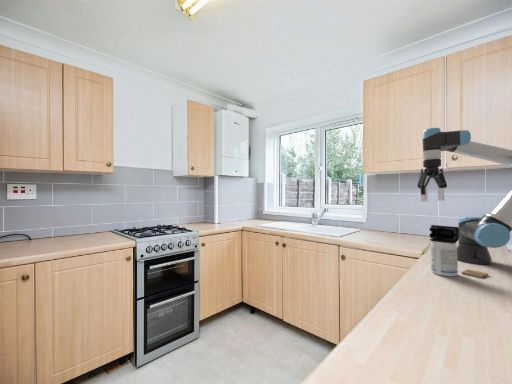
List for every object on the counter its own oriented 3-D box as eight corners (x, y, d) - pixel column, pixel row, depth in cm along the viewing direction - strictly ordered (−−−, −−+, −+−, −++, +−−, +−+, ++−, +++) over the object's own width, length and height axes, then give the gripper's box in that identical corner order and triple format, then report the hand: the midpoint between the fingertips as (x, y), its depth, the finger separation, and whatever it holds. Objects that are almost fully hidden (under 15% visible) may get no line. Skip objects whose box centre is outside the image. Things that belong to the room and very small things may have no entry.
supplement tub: (461, 274, 113) (461, 241, 113) (452, 278, 108) (452, 244, 108) (436, 269, 122) (436, 238, 121) (427, 272, 116) (427, 240, 116)
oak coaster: (468, 271, 118) (468, 269, 118) (488, 275, 112) (488, 273, 112) (461, 273, 114) (461, 271, 114) (481, 278, 108) (481, 276, 108)
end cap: (459, 241, 113) (459, 226, 113) (455, 243, 109) (455, 228, 109) (433, 238, 121) (433, 224, 121) (428, 240, 116) (428, 225, 116)
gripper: (439, 160, 138) (440, 199, 138) (408, 159, 128) (409, 201, 128) (454, 159, 131) (455, 200, 131) (423, 157, 121) (424, 201, 121)
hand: (432, 201), depth 130 cm, fingers open, 13 cm apart
